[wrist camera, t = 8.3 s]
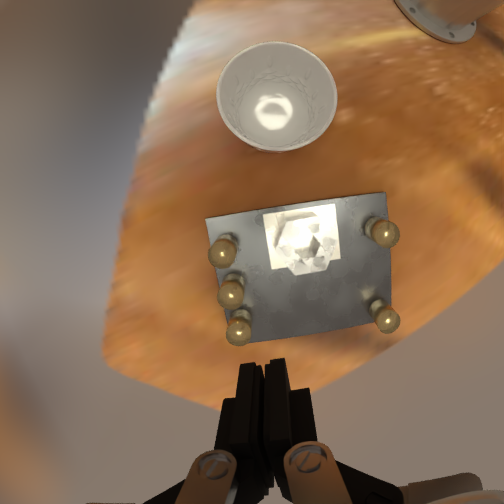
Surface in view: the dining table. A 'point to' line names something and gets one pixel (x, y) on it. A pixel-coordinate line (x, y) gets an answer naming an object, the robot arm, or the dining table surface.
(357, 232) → the jig plate
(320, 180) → the dining table surface
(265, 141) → the white cup
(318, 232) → the steel nut
